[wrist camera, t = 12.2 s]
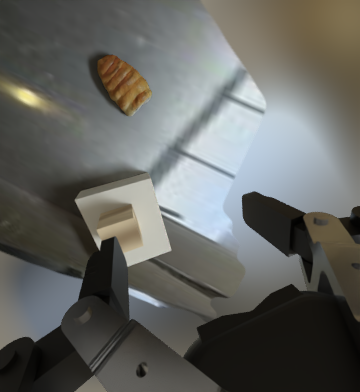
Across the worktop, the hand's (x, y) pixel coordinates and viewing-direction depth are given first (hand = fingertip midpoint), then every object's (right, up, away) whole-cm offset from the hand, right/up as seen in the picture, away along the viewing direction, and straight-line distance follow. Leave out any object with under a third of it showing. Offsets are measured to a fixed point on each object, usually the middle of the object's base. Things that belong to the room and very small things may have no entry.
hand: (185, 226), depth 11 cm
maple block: (-12, -3, +25) cm, 28 cm away
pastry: (-10, +21, +22) cm, 33 cm away
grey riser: (-12, -3, +31) cm, 33 cm away
